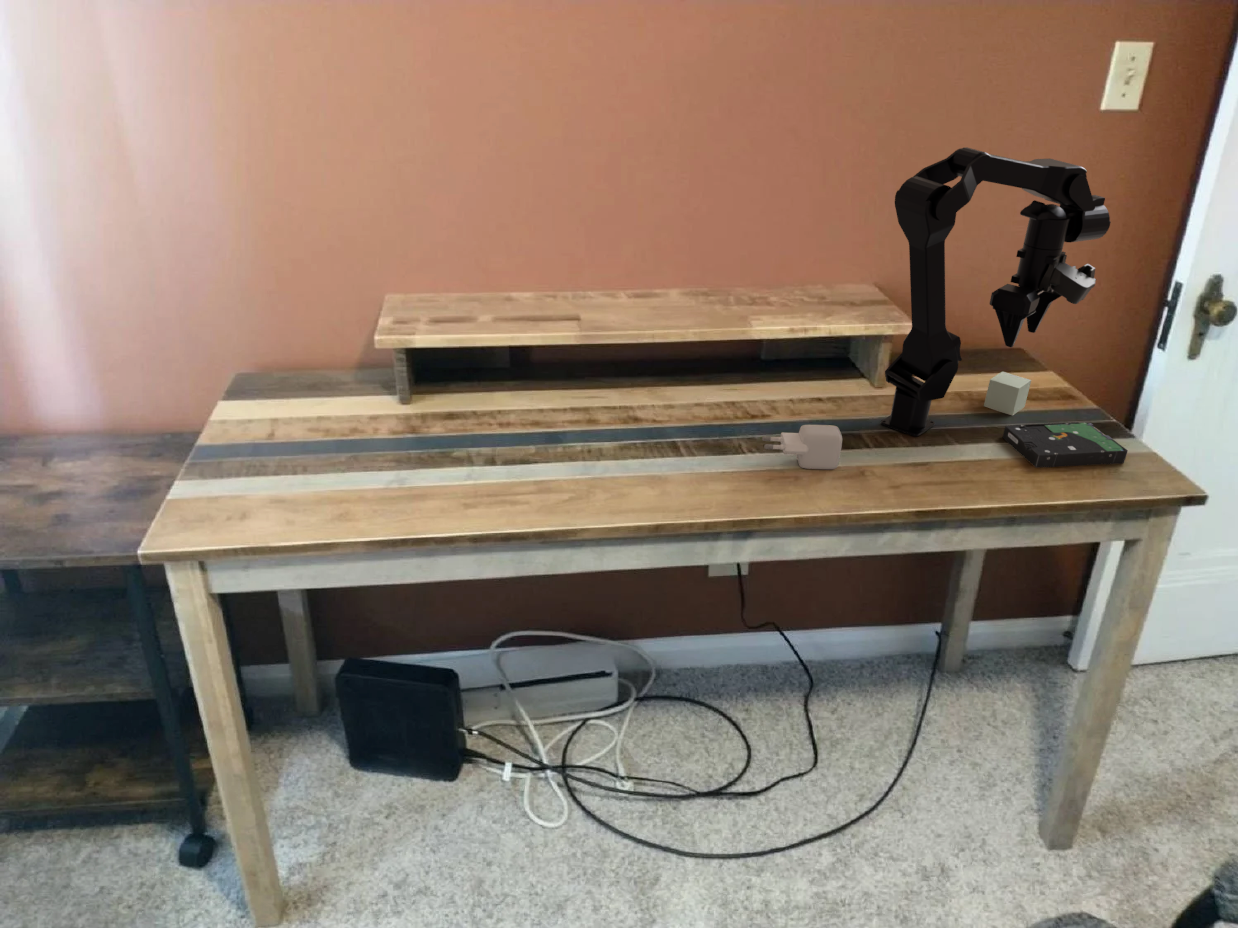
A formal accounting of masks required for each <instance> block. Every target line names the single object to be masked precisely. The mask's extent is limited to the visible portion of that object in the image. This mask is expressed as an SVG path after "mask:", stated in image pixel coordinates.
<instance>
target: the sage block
mask: <svg viewBox="0 0 1238 928" xmlns="http://www.w3.org/2000/svg"><path fill="white" fill-rule="evenodd" d="M1031 383H1032V379H1029V378H1026V377H1022V376H1018V375H1016V374H1011V373H1009V372H1006V371H1001V372H999V373H998V374H996V375H994V376H993V377H992V378H990V379H989V383H988V386H987V391H986V394H985V399H984V403H983V408H984V407H986V408H989V409H990V410H994V411H997V412H1000V413H1003V414H1005V415H1009V416H1011V417H1012V416H1014V415H1015V414H1017V413H1018V412H1020V411H1022V409H1024V408H1025V406H1026V404H1027V403H1026V402H1027V399H1028V398H1027V397H1028V395H1029V391H1030V387H1031Z"/></svg>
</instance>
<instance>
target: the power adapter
mask: <svg viewBox="0 0 1238 928" xmlns="http://www.w3.org/2000/svg"><path fill="white" fill-rule="evenodd" d="M840 430H841V429H840V428H839V427H838V426H836V425H833V424H832V425H829V424H803V425H801V426H800V428H799V431H798V432H783V431H782V432H781V433H780V436H771V435H770V436H766V435H765V436H762V437H761V440H762V442H780V444H770V443H769V444H764V448H763V449H765V450H781V451H782V453H783V454H784V455H795V456H796V459H797V463H798V465H799V467H800V468H802V469H806V470H807V469H808V470H835V469H838V466H839V464H840V463H839V462H840V459H841V453H842V452H841V451H842V446H843V436H842V433H841V431H840Z"/></svg>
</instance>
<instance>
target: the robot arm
mask: <svg viewBox="0 0 1238 928" xmlns="http://www.w3.org/2000/svg"><path fill="white" fill-rule="evenodd" d="M958 177H960V180H959V181H958V182H956V183H955V184H954V185H953V186H952V187H951V186H950V185H946V184H947V183H948V184H949V182H953V181H954V180H956V179H958ZM982 182H988V183H994V184H998V185H1004V186H1008V187H1014V188H1019V189H1022V190H1023V191H1024V192H1026V193H1028V194H1030V195H1032V196H1035V197H1038V198H1041V199H1044V200H1045V201H1049V202H1052V203H1048V204H1046V203H1044V202H1042V201H1039V200H1034V199H1033V200H1032V202H1031V203H1030V204H1029V205H1027V206H1024V208H1022V209H1021V210H1020V212H1019V214H1020V216H1022V217H1026V218H1029V219H1028V223H1027V226H1026V227H1027V228H1026V232H1025V235H1024V241H1023V244H1022V245H1023V246H1022V248H1020V249H1018V250H1017V252H1016V256H1015V257H1016V258H1019V262H1018V267H1017V271H1016V273H1015V274H1013V275H1011V276H1010V277H1011V279H1010V283H1013V284H1009V283H1005V284H1004V285H1002V286H1001V287H999V288H997V289H996V290H994V291H992V292H991V295H990V298H989V299H990V300H989V305H990V306H991V307H992V309H993V310H995V314H996V317H997V319H998V323H999V327H1000V330H1001V333H1002V338H1003V342H1004V344H1005V345H1004V346H1006V347H1008V348H1013V347H1014V346H1015V343H1016V341H1017V339H1018V336H1019V333H1020V332H1021V330H1022V326H1023V324H1024V322H1025V320H1026V324H1027V331H1028V332H1029V333H1033V334H1035V333H1036V331H1037V330H1038V328H1039V327H1040V324H1041V323H1042V321H1043V319H1044V317H1045V315H1046V313H1047V312H1048V310H1049V308H1050V307H1051V305H1052V304H1053V302H1054V301H1056V300H1058V299H1059V298H1061V297H1063V298H1065V299H1066V301H1067V302H1068V303H1071V304H1074V305H1077V304H1079V303H1080V302H1081V301H1083V300H1085V298H1086V297H1087V295H1088V294H1089V293H1090V291H1091V290H1092V289H1093V288H1094V287H1096V281H1097V279H1096V278H1095V274H1096V267H1094V266H1092V265H1091V264H1090V263H1086V264H1084V265H1082V266H1080V267H1079V268H1077V266H1076V265H1072V266H1071V265H1070V264H1068V263H1066V262H1067V261H1066V260H1067V257H1068V256H1067V255H1068V254H1067V253H1066V251H1063V249H1064V248H1063V247H1064V246H1065V245H1064V244H1065V243H1076V242H1084V241H1091V240H1092V241H1093V240H1098V239H1101V238H1102V237H1104V236H1105V235H1106V234H1107V232H1108V231H1109V228H1110V227H1111V216H1110V213H1109V210H1108V209H1107V207H1106V206H1105V201H1106V197H1104V196H1100V195H1096V194H1092V191H1091V189H1090V185H1089V181H1088V177H1087V169H1086V168H1085V167H1083V166H1081V165H1078V164H1073V163H1070V162H1065V161H1061V160H1058V159H1053V158H1035V159H1032V160H1030V161H1029V160H1028V161H1025V160H1019V159H1017V158H1010V157H1005V156H1000V155H997V154H996V155H995V154H991V153H988V152H986V151H982V150H978V149H976V148H971V147H960V148H958V149H956V150H955V151H953V152H952V153H951V154H950V155H949V156H947V157H946V158H944V159H941V160H939V161H937V162H935V163H933V164H930V165H928V166H926V167H924V168H923V167H922V169H921V170H919V171H918V172H917V173H916V174H914V175H913V176H911V177H910V178H908V179H906V180H905V181H903V183H902V184H901V186H900V188H899V189H897V190H896V192H895V196H894V207H895V212H896V217H897V222H898V224H899V227H900V228H901V230H902V232H903V234H904V236H905V238H906V240H907V242H908V245H909V246H908V247H909V248H908V249H909V250H908V252H909V253H908V255H909V277H910V279H909V280H910V281H909V282H910V283H909V284H910V307H911V308H910V309H911V330H910V331H909V332H908V334H907V335H906V336H905V338H904V339H903V342H902V349H901V350H902V351H901V353H900V354H899V355H898V356H897V358H896V359H894V361H893V362H891V364H890V365H889V366H888V367H887V368H886V369H885V371H884V375H885V382H887V383H888V384H891V385H893V386H894V387H895V391H894V396H893V401H892V406H891V407H892V408H891V412H890V415H888V416H886V417H885V418H883V419H882V420H880V424H881V425H882V426H885V427H888V428H889V429H890V428H891V429H893V430H897V431H898V432H902V433H904V434H907V435H910V436H912V437H919V436H921V435H922V434H924V433H925V432H926V431H929V430H930V429H931V428H933V427H934V426H936V425H935V424H936V422H935V421H933V420H931V419H928V418H929V414H930V408H931V404H932V401H934V400H940V399H944V398H945V396H946V394H947V392H948V390H949V388H950V386H951V384H952V383H953V381H954V378H955V376H956V374H957V372H958V370H959V369H958V368H959V362H961V361H962V360H963V359H962V357H961V344H962V341H961V337H960V336H959V335H957V334H955V333H953V332H950V331H949V330H948V329H947V325H946V323H947V322H946V319H947V318H946V316H947V315H946V252H945V251H946V250H945V247H946V246H945V242H946V239H947V237H948V236H949V235H950V233H951V231H953V228H954V227H955V224H956V218H957V213H958V212H959V211H960V210H961V209H963V208H964V207H965V206H966V205H968V203H970V201H971V200H972V197H973V196H974V193H975V191H976V189H977V187H978V185H980V184H981V183H982ZM1053 203H1056V204H1053ZM1057 204H1058V205H1057ZM1014 284H1016V285H1014Z"/></svg>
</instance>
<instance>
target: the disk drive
mask: <svg viewBox="0 0 1238 928" xmlns="http://www.w3.org/2000/svg"><path fill="white" fill-rule="evenodd" d="M1002 434H1003V435H1002V439H1004V440H1005V442H1006V443H1008V444H1009V445H1010V446H1011V447H1012V448H1014V450H1015V451H1016V452H1018V453H1019V455H1020V456H1022V457H1023V458H1024V459H1026V461H1028V462H1029V463H1030V464H1031V465H1032V466H1033V467H1034V468H1037V469H1038V468H1040V469H1041V468H1055V467H1074V466H1077V467H1078V466H1079V467H1081V466H1093V465H1094V466H1096V465H1097V466H1098V465H1116V464H1117V465H1119V464H1120V465H1121V464H1124V463H1125V460H1126V458H1127V454H1128V449H1127V448H1125V447H1124V446H1122V445H1121V444H1120V443H1118V442H1117V440H1114V438H1112V437H1111V436H1110V435H1108V434H1107V435H1106V434H1104V432H1102V431H1101V430H1100V429H1098V428H1097V427H1095V426H1094V424H1093V423H1092V422H1078V421H1077V422H1076V421H1074V422H1073V421H1072V422H1058V423H1057V422H1056V423H1054V422H1053V423H1033V424H1030V423H1029V424H1010V425H1005V427H1004V430H1003V433H1002Z"/></svg>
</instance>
